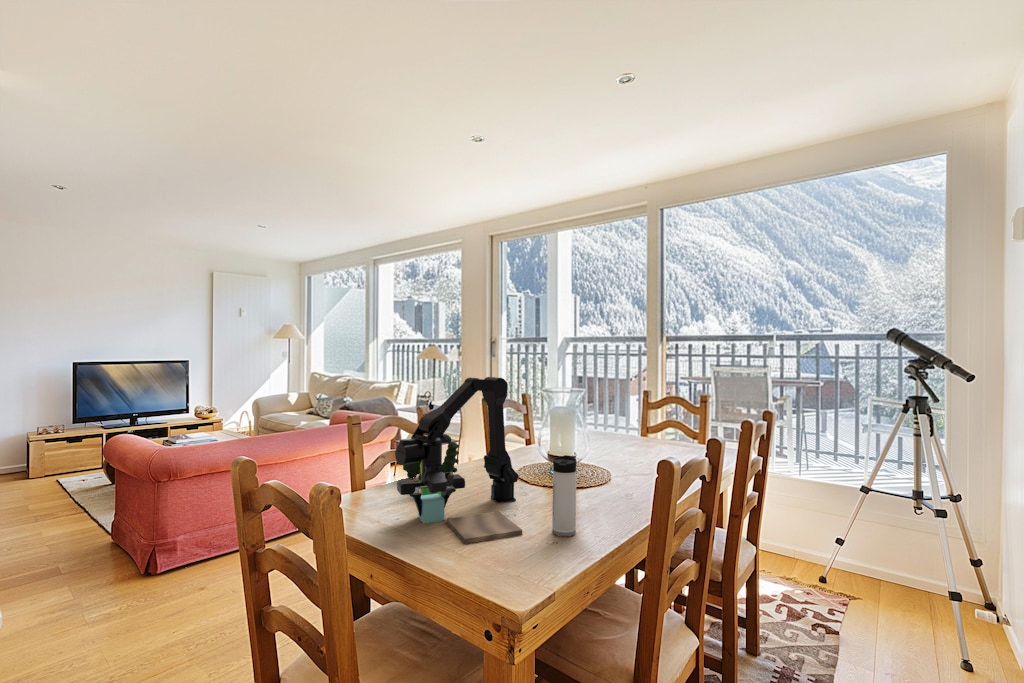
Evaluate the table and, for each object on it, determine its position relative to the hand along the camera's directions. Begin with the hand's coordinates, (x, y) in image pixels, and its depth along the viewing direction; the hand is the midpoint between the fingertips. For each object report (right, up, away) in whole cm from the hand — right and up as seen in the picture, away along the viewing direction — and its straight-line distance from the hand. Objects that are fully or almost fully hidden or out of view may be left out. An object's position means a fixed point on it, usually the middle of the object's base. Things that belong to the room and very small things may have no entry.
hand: (431, 514), depth 143 cm
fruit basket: (-4, -2, +25) cm, 25 cm away
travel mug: (+37, -2, -9) cm, 38 cm away
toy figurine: (-8, -2, +39) cm, 40 cm away
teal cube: (0, -1, 0) cm, 1 cm away
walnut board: (+15, -1, -7) cm, 17 cm away
